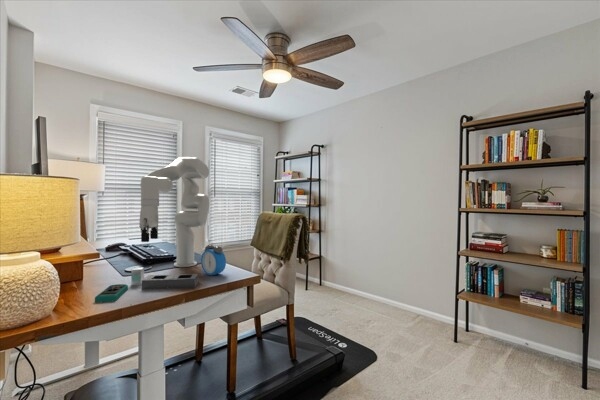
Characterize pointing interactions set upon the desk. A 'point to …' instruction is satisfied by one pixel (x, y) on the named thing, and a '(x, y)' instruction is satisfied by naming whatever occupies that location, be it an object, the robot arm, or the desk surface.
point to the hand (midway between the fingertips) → (149, 240)
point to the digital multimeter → (111, 293)
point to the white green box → (137, 276)
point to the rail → (170, 281)
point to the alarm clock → (213, 260)
